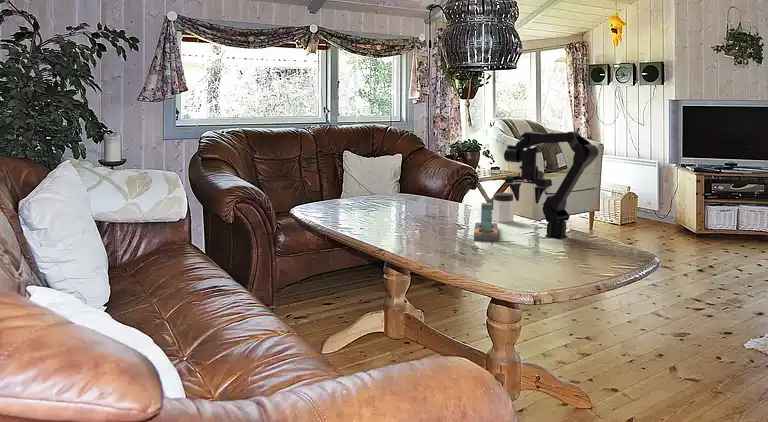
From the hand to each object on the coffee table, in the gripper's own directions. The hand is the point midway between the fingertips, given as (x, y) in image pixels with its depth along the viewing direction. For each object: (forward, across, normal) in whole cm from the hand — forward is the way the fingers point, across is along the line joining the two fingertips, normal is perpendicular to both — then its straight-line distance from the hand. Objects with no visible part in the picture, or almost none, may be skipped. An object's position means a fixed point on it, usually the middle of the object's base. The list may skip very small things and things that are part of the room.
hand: (527, 202), depth 259 cm
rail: (+12, +8, +16) cm, 22 cm away
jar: (+12, +20, -12) cm, 26 cm away
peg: (+12, +5, +20) cm, 24 cm away
